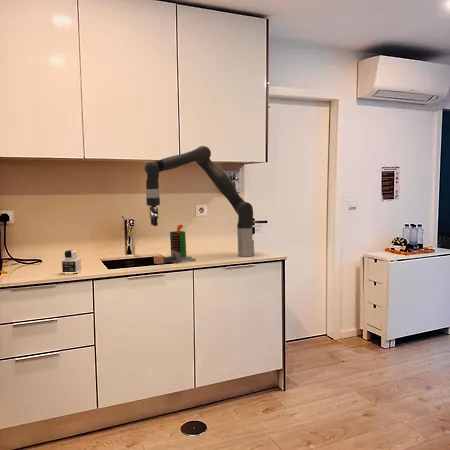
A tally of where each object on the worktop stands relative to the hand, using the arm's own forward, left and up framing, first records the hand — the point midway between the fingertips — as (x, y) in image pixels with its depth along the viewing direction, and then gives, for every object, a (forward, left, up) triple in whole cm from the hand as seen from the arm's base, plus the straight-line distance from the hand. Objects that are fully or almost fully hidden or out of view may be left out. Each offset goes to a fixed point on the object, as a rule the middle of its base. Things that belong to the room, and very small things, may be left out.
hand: (154, 225), depth 239 cm
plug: (-5, 0, -22) cm, 22 cm away
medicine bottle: (+46, +8, -22) cm, 51 cm away
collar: (-17, 0, -22) cm, 28 cm away
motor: (-17, -17, -22) cm, 33 cm away
